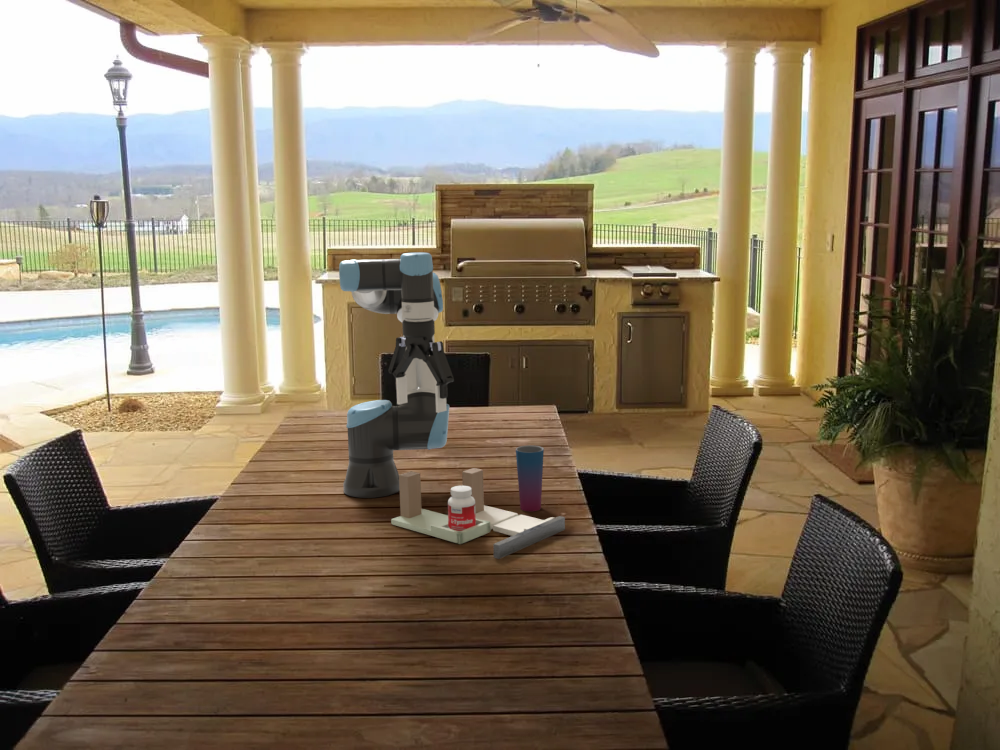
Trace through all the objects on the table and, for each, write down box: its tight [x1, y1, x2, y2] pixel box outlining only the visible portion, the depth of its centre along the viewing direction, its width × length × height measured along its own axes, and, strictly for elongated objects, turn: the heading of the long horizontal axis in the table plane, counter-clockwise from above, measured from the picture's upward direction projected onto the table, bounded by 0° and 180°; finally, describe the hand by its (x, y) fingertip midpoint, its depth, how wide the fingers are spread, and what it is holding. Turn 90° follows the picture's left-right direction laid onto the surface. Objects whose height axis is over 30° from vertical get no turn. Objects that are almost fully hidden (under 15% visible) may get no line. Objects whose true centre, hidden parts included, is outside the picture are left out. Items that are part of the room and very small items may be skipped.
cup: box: [515, 444, 545, 512], centre depth 230 cm, size 7×7×15 cm
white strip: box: [492, 514, 555, 537], centre depth 215 cm, size 10×10×2 cm
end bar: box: [492, 515, 566, 560], centre depth 207 cm, size 2×23×3 cm, turn 140°
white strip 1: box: [461, 467, 519, 531], centre depth 222 cm, size 11×10×11 cm
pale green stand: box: [390, 470, 491, 545], centre depth 217 cm, size 22×10×11 cm, turn 49°
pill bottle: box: [447, 485, 476, 531], centre depth 212 cm, size 6×6×11 cm
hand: (421, 407), depth 226 cm, fingers open, 13 cm apart
